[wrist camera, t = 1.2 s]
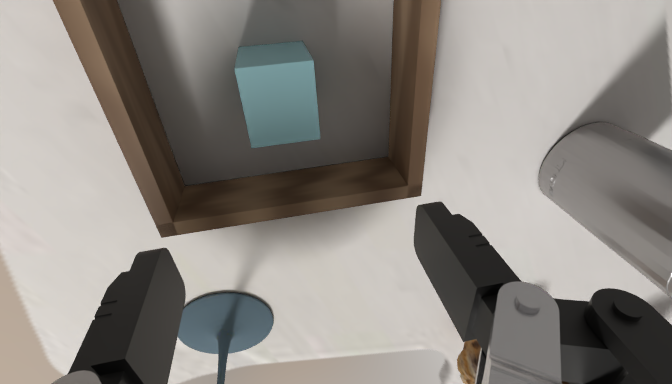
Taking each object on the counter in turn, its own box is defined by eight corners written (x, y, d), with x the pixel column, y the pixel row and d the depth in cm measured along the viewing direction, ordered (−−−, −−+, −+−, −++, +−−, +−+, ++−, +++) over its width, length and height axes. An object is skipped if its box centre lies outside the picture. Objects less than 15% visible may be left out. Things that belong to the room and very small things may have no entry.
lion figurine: (435, 339, 51) (466, 403, 43) (441, 317, 48) (474, 382, 40) (526, 321, 53) (570, 379, 45) (536, 298, 50) (585, 357, 42)
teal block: (302, 40, 25) (313, 60, 20) (309, 107, 28) (320, 139, 23) (238, 46, 24) (234, 68, 19) (252, 114, 27) (251, 148, 22)
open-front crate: (413, -61, 23) (447, -66, 18) (400, 166, 32) (420, 195, 28) (79, -40, 20) (34, -40, 16) (174, 199, 30) (161, 237, 26)
